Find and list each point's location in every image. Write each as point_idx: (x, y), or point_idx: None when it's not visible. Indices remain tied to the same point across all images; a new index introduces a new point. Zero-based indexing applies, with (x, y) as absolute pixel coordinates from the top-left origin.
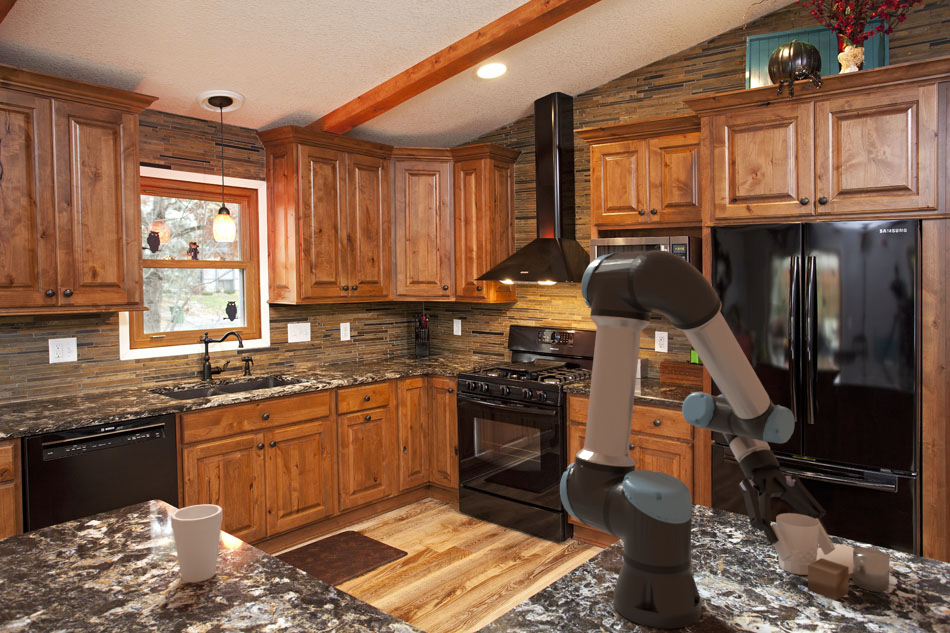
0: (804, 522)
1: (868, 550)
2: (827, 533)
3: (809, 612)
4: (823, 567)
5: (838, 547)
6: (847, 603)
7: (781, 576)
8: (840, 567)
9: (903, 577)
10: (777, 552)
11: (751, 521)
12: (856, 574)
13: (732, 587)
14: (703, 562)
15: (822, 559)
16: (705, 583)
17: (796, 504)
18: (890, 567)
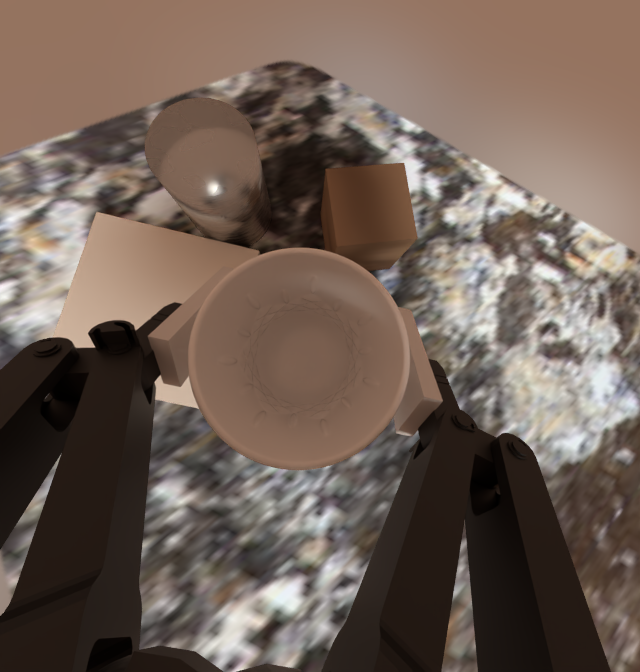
0: (215, 376)
1: (179, 164)
2: (175, 303)
3: (472, 210)
4: (395, 204)
5: None
6: None
7: None
8: (350, 179)
9: (123, 191)
10: None
11: (499, 490)
12: (265, 208)
13: (529, 365)
14: None
15: (343, 239)
16: (570, 412)
17: (134, 479)
18: (107, 215)
